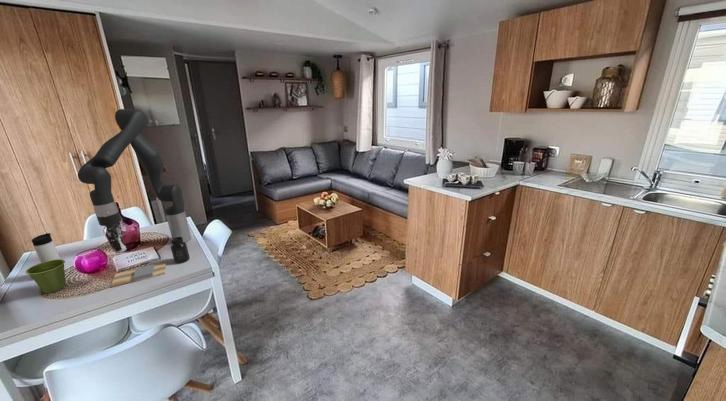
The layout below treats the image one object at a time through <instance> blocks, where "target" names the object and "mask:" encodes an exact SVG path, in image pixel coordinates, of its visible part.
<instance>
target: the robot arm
mask: <svg viewBox="0 0 726 401" xmlns="http://www.w3.org/2000/svg"><path fill="white" fill-rule="evenodd" d="M114 120H115V123H116V125H117V127H118V128H119V129H120V131H119V132H118V133H117V134H115V135H114V136H112V137H110V138H109V139H108V140H106V141H105V142H104V143H103V144H102V145H101V146H100V148H99V149H98V151H97V152H96V153H95V155H94V156H93V157H91V158H89V160H88V161H86V162H85V163H84V164H83V165H82V166H80V168H79V170H78V171H77V178H78V180H79V181H80V182H81V183H83V184H85V185H86V184H87V185H94V189H92V190H91V191H89V198H90V201H91V203H92V207H93V211H94V214H95V217H96V219H97V222H98V224H99V225H100V226H101V227H106V229H105V237H106V239H107V241H108V242H109V245H112V246H113V250H114V249H115V251H120V250H121V249H122V248H121V245H120V242H119V238H118V237H119V235H120V239H121V242H122V244H124V245H125V243H124V240H123V230H122V226H121V222H122V216H121V214H120V211H119V207H118V206H117V203H116V202H115V199H114V195H113V192H112V176H111V174H110V172H109V171H108V170H107V169H108V168H111V167H113V166H114V165H116V163H117V162H118V160H119V159H120V157H121V156H122V154H123V153H124V151H125V150H126V148H127V147H128V146H129V145H130V146H131V147H132V149H133V151H134V153H135V155H136V158H138V161H139V162H140V164H141V166H142V169H143V170H144V171H145V173H146V176H147V177H148V179H149V181H150V183H151V187H152V188H153V192H154V193H155V195H156V198H157V199H158V200H159V201H161V202H166V203H167V202H171V203H172V205H169V206H168V207H166V208H165V209H164V213H165V216H166V221H167V224H168V227H169V228H168V229H169V231H170V232H169V233H170V235H171V240H172V239H173V238H176V237H182V239H183V242H185V243H187V242H189V241H191V240H192V236H191V235H192V234H191V230H190V227H189V223H188V219H187V213H186V210H185V202H184V197H183V191H182V188H181V186H180V185H178V184H165V183H164V181H163V179H162V173H163V171H164V166H165V164H164V160H163V158H162V156H161V153H160V152H159V150H158V149H157V148H156V147H155V146H154V145H153V144H151V142H150V141H149V140H147V139H146V138H145V137H144V136H143V135H142V132H143V131H144V130H146V127H148V125H149V117H148V116H147V114H146V113H145V111H143V110H141V109H131V108H130V109H129V108H119V109H117V110H116V112H115V113H114ZM115 235H116V236H115ZM113 240H115V241H113Z"/></svg>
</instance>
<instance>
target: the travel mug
mask: <svg viewBox="0 0 726 401" xmlns="http://www.w3.org/2000/svg"><path fill="white" fill-rule="evenodd" d="M51 235H52V233H50V232H47V233H45V234H40V235H37V236H35V237H33V238H32V239H31V243H32V246H33V249H35V253H36V255H37V257H38V259H39V262H40V263H42V262H46V261H50V260H56V259H61V257H60V254H59V253H58V248H57V247H56V245H55V242H54V240H53V238H52V236H51ZM64 273H66V269H65V268H64Z"/></svg>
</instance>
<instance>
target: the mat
mask: <svg viewBox="0 0 726 401" xmlns="http://www.w3.org/2000/svg"><path fill="white" fill-rule="evenodd" d="M153 264H154V263H153ZM166 266H167V261H162V262H158V263H155V264H154V273H153V276H150V277H147V278H143V279H139V280H135V281H134V278H133V277H134V273H135V270H136V268H134V269H130V270H125V271H121V272H117V273H115V274H114V277H113V279H112V282H111V284H110V289H112V288H116V287H120V286H124V285H128V284H132V283H135V282H139V281H143V280H147V279H151V278H155V277H159V276H162V275H165V273H166Z"/></svg>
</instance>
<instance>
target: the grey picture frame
mask: <svg viewBox="0 0 726 401" xmlns="http://www.w3.org/2000/svg"><path fill="white" fill-rule="evenodd" d="M135 269H136V270H135V273H134V277H133V278H134V281H135V280H139V279H143V278H147V277H150V276H153V273H154V263H153V264H149V265H144V266H141V267H140V266H139V267H136V268H135ZM147 279H148V278H147Z"/></svg>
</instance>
